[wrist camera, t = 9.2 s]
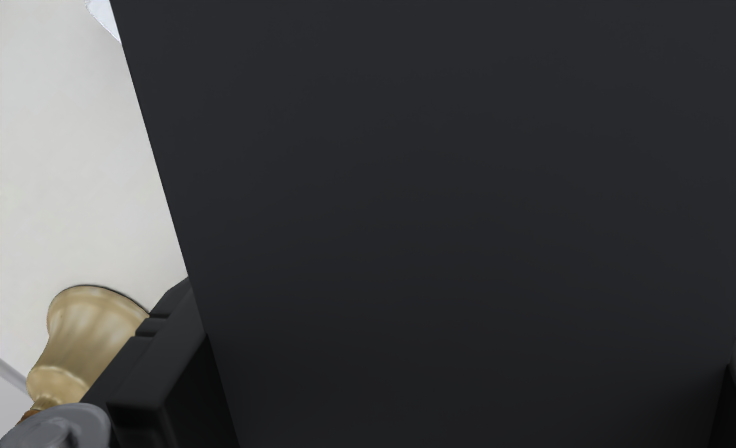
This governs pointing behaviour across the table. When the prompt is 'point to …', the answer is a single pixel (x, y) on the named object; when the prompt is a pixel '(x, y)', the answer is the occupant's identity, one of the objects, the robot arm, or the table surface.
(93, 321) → the hand bell
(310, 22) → the pad
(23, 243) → the table surface
